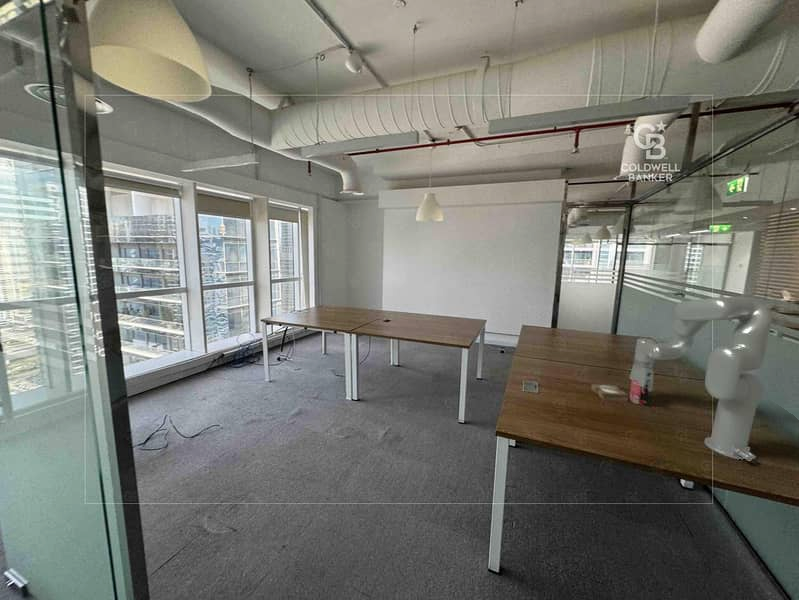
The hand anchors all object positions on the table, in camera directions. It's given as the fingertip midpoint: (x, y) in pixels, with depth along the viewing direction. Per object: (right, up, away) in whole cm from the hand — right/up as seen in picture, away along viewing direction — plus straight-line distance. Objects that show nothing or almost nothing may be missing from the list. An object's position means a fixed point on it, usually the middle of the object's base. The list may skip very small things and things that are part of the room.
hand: (638, 396), depth 154 cm
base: (-9, -2, +8) cm, 13 cm away
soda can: (0, -3, +1) cm, 3 cm away
